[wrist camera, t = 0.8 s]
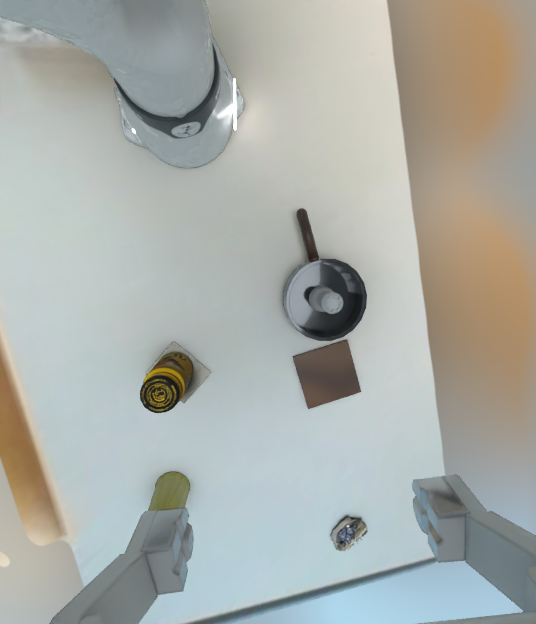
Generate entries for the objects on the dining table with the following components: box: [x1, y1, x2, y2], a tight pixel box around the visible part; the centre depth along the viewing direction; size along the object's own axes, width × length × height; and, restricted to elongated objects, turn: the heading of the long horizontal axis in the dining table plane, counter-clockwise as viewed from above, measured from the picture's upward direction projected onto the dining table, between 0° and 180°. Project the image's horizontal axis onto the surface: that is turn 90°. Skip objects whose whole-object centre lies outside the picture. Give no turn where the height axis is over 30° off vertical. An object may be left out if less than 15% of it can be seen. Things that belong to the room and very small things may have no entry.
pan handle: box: [297, 208, 319, 262], centre depth 52 cm, size 9×2×2 cm, turn 17°
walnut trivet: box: [293, 340, 361, 409], centre depth 58 cm, size 10×10×1 cm
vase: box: [148, 472, 190, 511], centre depth 52 cm, size 6×6×14 cm
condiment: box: [140, 341, 212, 413], centre depth 50 cm, size 7×8×12 cm
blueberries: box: [330, 517, 367, 551], centre depth 63 cm, size 7×8×2 cm
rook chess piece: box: [309, 286, 343, 314], centre depth 52 cm, size 4×4×8 cm
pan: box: [283, 259, 367, 341], centre depth 54 cm, size 13×13×4 cm
